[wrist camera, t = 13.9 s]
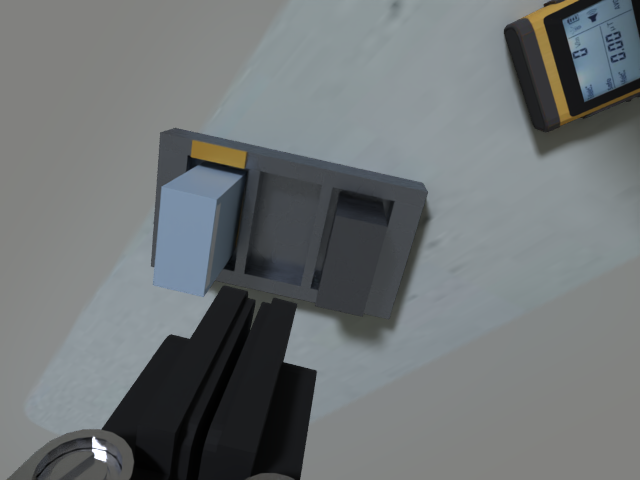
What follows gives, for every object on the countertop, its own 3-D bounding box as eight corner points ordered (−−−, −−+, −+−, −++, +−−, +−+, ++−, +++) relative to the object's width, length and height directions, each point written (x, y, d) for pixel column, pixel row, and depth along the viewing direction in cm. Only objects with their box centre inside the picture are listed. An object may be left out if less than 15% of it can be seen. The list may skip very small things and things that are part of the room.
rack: (175, 127, 35) (134, 140, 28) (422, 182, 35) (437, 207, 28) (164, 253, 39) (127, 288, 33) (387, 302, 39) (392, 347, 32)
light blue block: (203, 161, 35) (161, 186, 27) (247, 172, 35) (217, 199, 27) (193, 242, 37) (152, 285, 30) (234, 251, 37) (203, 297, 30)
